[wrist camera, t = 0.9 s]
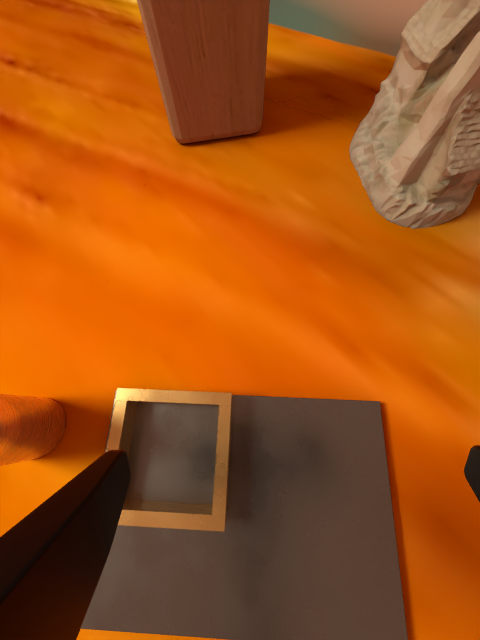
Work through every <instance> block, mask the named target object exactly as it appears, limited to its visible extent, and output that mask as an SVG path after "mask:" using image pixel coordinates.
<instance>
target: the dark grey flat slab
mask: <svg viewBox="0 0 480 640" xmlns="http://www.w3.org/2000/svg"><path fill="white" fill-rule="evenodd" d="M120 449H122V450H125V451H126V453H127V457H128V462H129V467H130V472H131V479H130V484H129V488H128V491H127V495H126V498H125V502H124V505H123V509H122V512H121V516H120V519H119V523H118V526H117V530H116V533H115V537H114V540H113V543H112V546H111V550H110V552H109V555H108V558H107V561H106V564H105V566H104V569H103V571H102V574H101V577H100V579H99V582H98V584H97V587H96V590H95V592H94V595H93V597H92V600H91V603H90V605H89V608H88V610H87V613H86V616H85V618H84V621H83V623H82V626H81V629H94V630H107V631H121V632H135V633H148V634H162V635H176V636H189V637H203V638H217V639H230V640H408V637H407V629H406V620H405V611H404V603H403V594H402V586H401V577H400V569H399V560H398V552H397V543H396V535H395V526H394V518H393V509H392V501H391V492H390V484H389V475H388V467H387V458H386V450H385V441H384V433H383V424H382V416H381V407H380V402H379V401H357V400H334V399H311V398H289V397H266V396H243V395H233V394H232V393H218V392H195V391H172V390H150V389H127V388H118V389H117V390H116V394H115V400H114V405H113V411H112V416H111V421H110V427H109V432H108V438H107V443H106V448H105V452H107V451H109V450H120Z"/></svg>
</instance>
